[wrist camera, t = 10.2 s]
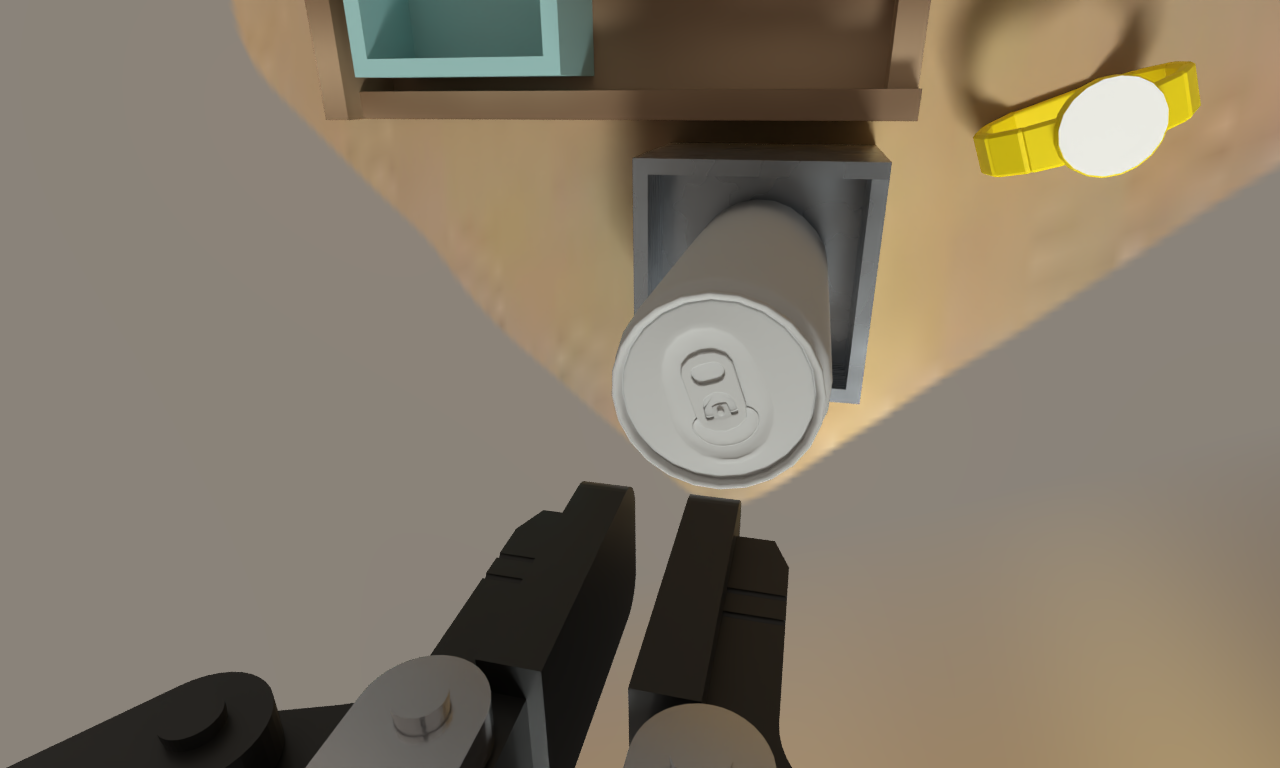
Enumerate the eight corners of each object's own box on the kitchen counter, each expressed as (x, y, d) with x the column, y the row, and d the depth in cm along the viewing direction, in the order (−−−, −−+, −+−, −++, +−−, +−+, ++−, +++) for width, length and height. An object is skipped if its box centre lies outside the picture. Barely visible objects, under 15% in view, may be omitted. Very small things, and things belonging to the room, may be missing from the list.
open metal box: (671, 142, 28) (632, 158, 22) (875, 145, 26) (891, 162, 21) (668, 328, 31) (634, 384, 25) (851, 341, 30) (859, 403, 24)
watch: (977, 182, 26) (1001, 212, 21) (960, 110, 26) (980, 123, 20) (1163, 120, 24) (1242, 137, 19) (1151, 38, 23) (1230, 33, 18)
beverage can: (717, 340, 27) (648, 511, 16) (677, 221, 25) (572, 321, 15) (842, 307, 25) (859, 473, 14) (807, 177, 24) (797, 254, 13)
